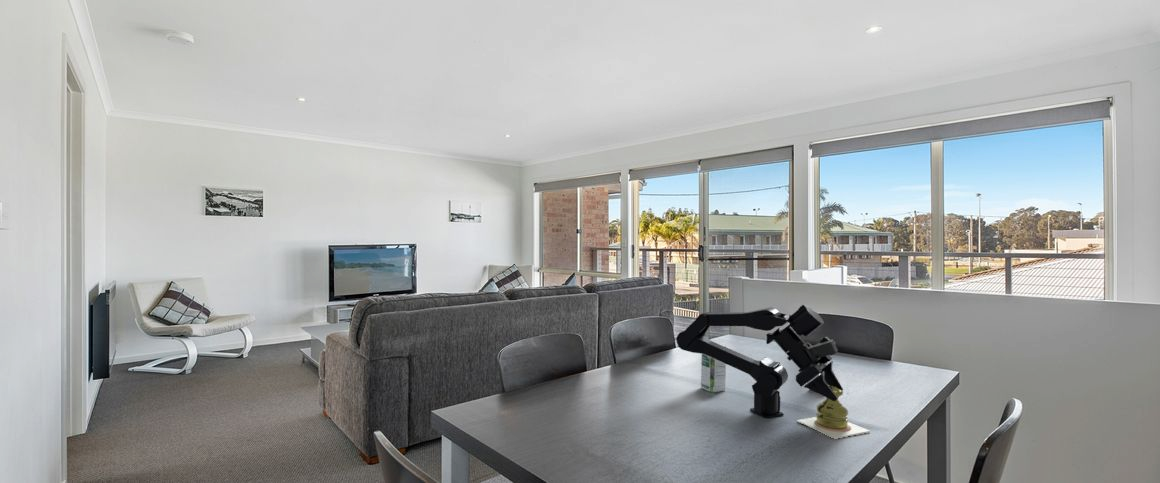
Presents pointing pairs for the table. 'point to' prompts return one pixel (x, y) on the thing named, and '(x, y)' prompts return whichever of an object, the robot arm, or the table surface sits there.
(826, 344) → the robot arm
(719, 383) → the syrup box
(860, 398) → the table surface
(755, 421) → the table surface
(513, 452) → the table surface
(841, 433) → the card
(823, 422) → the brass door knob
